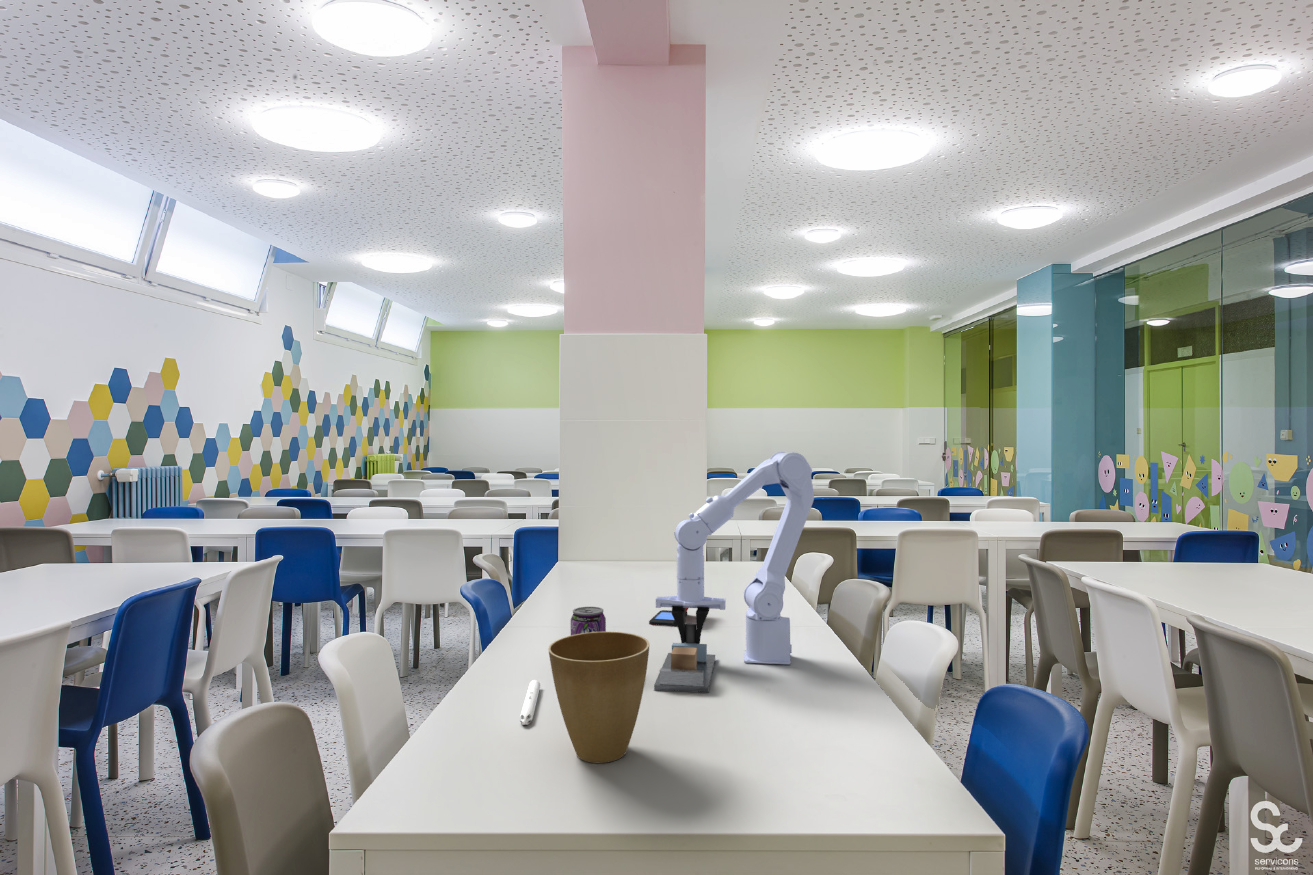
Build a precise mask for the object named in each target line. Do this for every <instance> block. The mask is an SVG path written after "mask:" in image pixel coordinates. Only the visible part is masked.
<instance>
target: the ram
mask: <svg viewBox="0 0 1313 875" xmlns="http://www.w3.org/2000/svg"><path fill="white" fill-rule="evenodd" d="M696 631H697V625H696V622H695V623H694V622H687V623H686V622H685V643H681V642H672V644H671V651H672V650H673V648H674V647H688V648H697V661H702V662H706V660H707V654H708V650H707V649H708V644H707V643H700V644H696Z"/></svg>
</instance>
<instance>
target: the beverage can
mask: <svg viewBox="0 0 1313 875" xmlns="http://www.w3.org/2000/svg"><path fill="white" fill-rule="evenodd" d="M606 619H607V618H606V616H605V614H604V608H602V607H598V606H581V607H576V608H574V609H572V616H571V618H570V636H571V635H576V634H582V633H589V632H607V629H606V627H607V622H606V621H607V620H606Z"/></svg>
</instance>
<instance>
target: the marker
mask: <svg viewBox="0 0 1313 875" xmlns="http://www.w3.org/2000/svg"><path fill="white" fill-rule="evenodd" d="M540 689H541V683H540V680H537V679H532V680H530V682H529V684H528V688H527V691H526V695H525V697H524V701H523V704H522V708H521V711H520V715H519V722H520V723H521V725H523V726H525V725H527V726H528V725H529V724H531V723H532V721H533V719H534V714H535V709H536V704H537V701H538V697H539V693H540Z"/></svg>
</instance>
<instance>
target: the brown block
mask: <svg viewBox="0 0 1313 875" xmlns="http://www.w3.org/2000/svg"><path fill="white" fill-rule="evenodd" d="M670 653H671V669H684V670H697V648H688V647H674V648H673V650H672V649H671V652H670Z"/></svg>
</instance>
